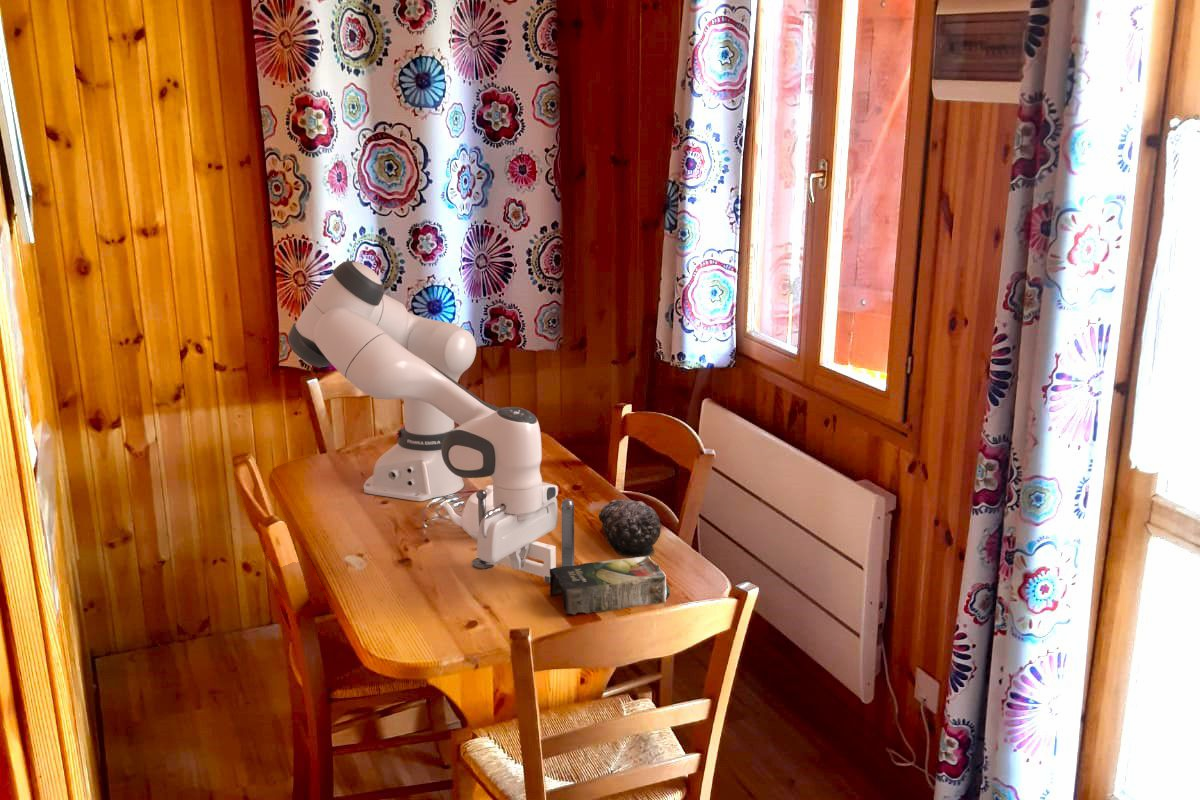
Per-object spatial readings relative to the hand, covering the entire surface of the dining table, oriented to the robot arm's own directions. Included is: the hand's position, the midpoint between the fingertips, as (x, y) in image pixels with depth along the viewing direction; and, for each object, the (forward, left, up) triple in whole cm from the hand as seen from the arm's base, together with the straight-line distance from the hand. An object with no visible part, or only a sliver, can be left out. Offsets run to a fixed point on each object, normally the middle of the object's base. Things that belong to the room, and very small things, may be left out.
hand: (518, 567), depth 200 cm
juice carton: (+17, -3, -4) cm, 18 cm away
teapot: (-12, +22, -4) cm, 25 cm away
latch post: (+7, +9, -3) cm, 12 cm away
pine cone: (+16, +22, -4) cm, 27 cm away
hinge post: (-9, +7, -3) cm, 11 cm away
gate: (0, +3, -3) cm, 4 cm away
